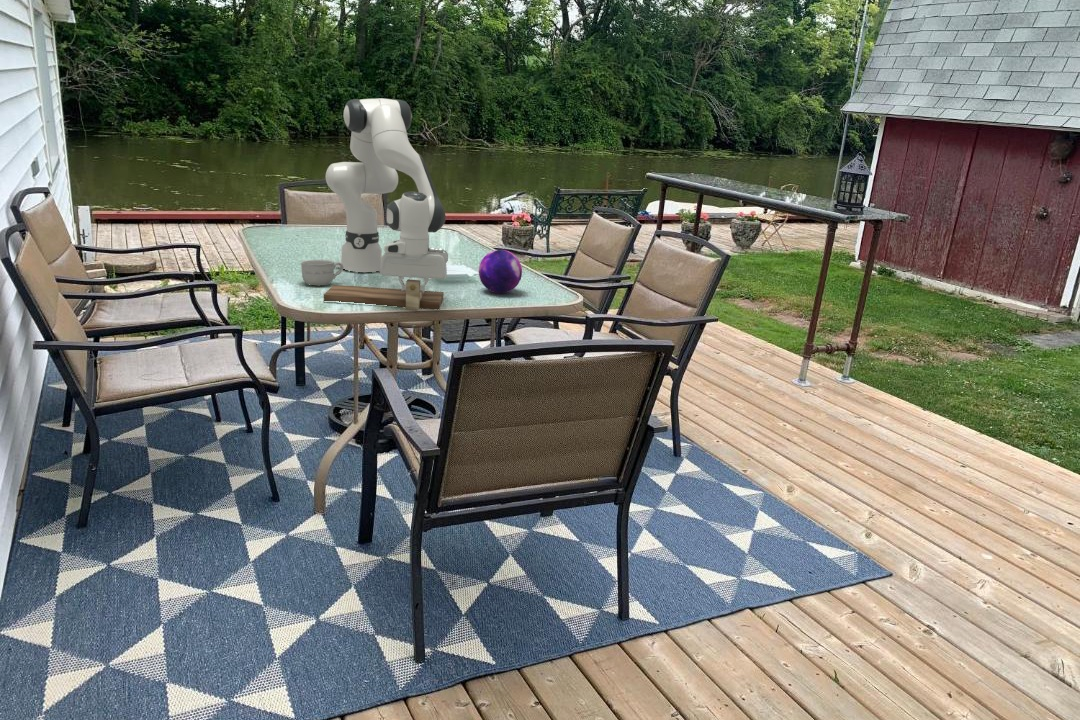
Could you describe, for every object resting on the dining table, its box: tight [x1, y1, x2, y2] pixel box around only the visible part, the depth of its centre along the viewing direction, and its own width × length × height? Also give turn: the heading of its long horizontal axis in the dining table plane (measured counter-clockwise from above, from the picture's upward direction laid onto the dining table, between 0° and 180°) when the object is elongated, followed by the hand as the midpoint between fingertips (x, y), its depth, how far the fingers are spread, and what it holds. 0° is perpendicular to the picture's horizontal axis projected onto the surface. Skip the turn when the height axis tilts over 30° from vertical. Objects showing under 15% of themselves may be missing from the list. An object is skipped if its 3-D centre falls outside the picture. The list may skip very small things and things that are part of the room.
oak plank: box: [323, 284, 445, 311], centre depth 259 cm, size 14×36×2 cm, turn 91°
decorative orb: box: [478, 249, 523, 294], centre depth 279 cm, size 15×15×15 cm
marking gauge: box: [405, 278, 426, 311], centre depth 256 cm, size 17×4×9 cm, turn 1°
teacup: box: [300, 259, 344, 287], centre depth 273 cm, size 14×11×8 cm
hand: (413, 291), depth 249 cm, fingers closed on marking gauge, 4 cm apart
